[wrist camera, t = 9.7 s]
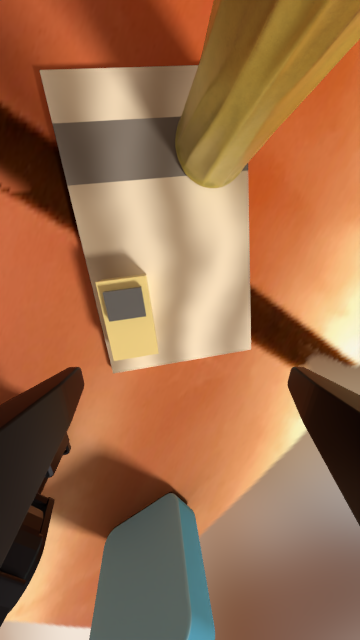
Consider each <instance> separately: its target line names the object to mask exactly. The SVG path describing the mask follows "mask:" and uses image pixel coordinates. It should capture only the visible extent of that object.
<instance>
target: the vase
mask: <svg viewBox="0 0 360 640" xmlns="http://www.w3.org/2000/svg"><path fill="white" fill-rule="evenodd" d="M359 39H360V0H214V2H213V6H212V11H211V15H210V19H209V24H208V28H207V33H206V38H205V42H204V47H203V51H202V55H201V59H200V62H199V65H198V68H197V71H196V74H195V77H194V80H193V83H192V86H191V89H190V92H189V95H188V98H187V100H186V103H185V106H184V110H183V113H182V116H181V119H180V121H179V123H178V126H177V131H176V138H175V148H176V153H177V157H178V160H179V162H180V164H181V167H182V169H183V170H184V172H185V174H186V175H187V176H188V177H189V178H190V179H191V180H192V181H193V182H195V183H196V184H198V185H200V186H202V187H206V188H220V187H223V186H225V185H227V184H229V183H231V182H232V181H233V180H234V179H235V178H236V177H237V176H238V175H239V174H240V173H241V171H242V170H243V168H244V167H245V165H246V164H247V163H248V162H249V161H250V160H251V159H252V157H253V156H254V155H255V154H256V153H257V152H258V151H259V150H260V149H261V147H262V146H263V145H264V144H265V143H266V141H267V140H268V139H269V138H270V136H271V135H272V134H273V133H274V132H275V131H276V130H277V128H278V127H279V126H280V125H281V124H282V123H283V122H284V121H285V120H286V119H287V118H288V117H289V116H290V114H291V113H292V112H293V111H294V110H295V109H296V108H297V107H298V106H299V105H300V104H301V102H302V101H303V100H304V99H305V98H306V97H307V96H308V95H309V94H310V93H311V92H312V91H313V89H314V88H315V87H316V86H317V85H318V84H319V83H320V82H321V81H322V80H323V79H324V77H325V76H326V75H327V74H328V73H329V72H330V71H331V70H332V69H333V67H334V66H335V65H336V64H337V63H338V62H339V61H340V60H341V59H342V58H343V56H344V55H345V54H346V53H347V52H348V51H349V50H350V49H351V48H352V47H353V46H354V45H355V43H356V42H357V41H358V40H359Z"/></svg>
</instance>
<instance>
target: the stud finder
mask: <svg viewBox="0 0 360 640" xmlns="http://www.w3.org/2000/svg"><path fill="white" fill-rule="evenodd" d="M95 283H96V287H97V292H98V296H99V300H100V304H101V308H102V313H103V317H104V321H105V325H106V330H107V334H108V338H109V342H110V346H111V351H112V355H113V359H114V361H118V360H124V359H130V358H136V357H142V356H147V355H153V354H159V352H158V342H157V336H156V330H155V324H154V317H153V311H152V305H151V299H150V293H149V287H148V281H147V274H142V275H134V276H126V277H119V278H111V279H103V280H100V281H97V282H95Z"/></svg>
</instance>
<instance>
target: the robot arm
mask: <svg viewBox="0 0 360 640" xmlns="http://www.w3.org/2000/svg"><path fill="white" fill-rule="evenodd" d="M288 388H289V391H290V393H291V395H292V398H293V400H294V402H295V405H296V407H297V410H298V412H299V414H300V417H301V419H302V421H303V423H304V425H305V427H306V429H307V430H308V432H309V434H310V436H311V438H312V439H313V441H314V443H315V445H316V447H317V449H318V451H319V452H320V454H321V456H322V458H323V460H324V462H325V463H326V465H327V467H328V469H329V471H330V473H331V474H332V476H333V478H334V480H335V482H336V484H337V485H338V487H339V489H340V491H341V493H342V494H343V496H344V498H345V500H346V502H347V504H348V506H349V507H350V509H351V511H352V513H353V515H354V517H355V518H356V520H357V522H358V524H359V526H360V395H358V394H356V393H354V392H352V391H350V390H348V389H346V388H344V387H342V386H340V385H338V384H336V383H334V382H332V381H330V380H328V379H326V378H324V377H322V376H320V375H318V374H316V373H314V372H312V371H310V370H308V369H306V368H304V367H293V368H292V369H291V372H290V375H289V379H288ZM83 389H84V380H83V375H82V371H81V368H79V367H69V368H67V369H65V370H63V371H62V372H60V373H58V374H56V375H54V376H52V377H51V378H49V379H47V380H45V381H43V382H41V383H40V384H38V385H36V386H34V387H32V388H31V389H29V390H27V391H25V392H23V393H21V394H20V395H18V396H16V397H14V398H12V399H10V400H9V401H7V402H5V403H3V404H1V405H0V627H1V625H2V623H3V621H4V619H5V618H6V616H7V614H8V613H9V612H10V611H11V610H12V608H13V607H14V606H15V605H16V603H17V602H18V600H19V599H20V597H21V596H22V594H23V593H24V591H25V589H26V588H27V586H28V584H29V582H30V581H31V579H32V577H33V575H34V573H35V570H36V568H37V566H38V564H39V561H40V559H41V556H42V553H43V550H44V546H45V541H46V537H47V532H48V528H49V523H50V519H51V514H52V509H53V505H54V499H52V498H50V497H48V498H47V497H45V496H43V495H41V492H42V490H43V488H44V486H45V484H46V482H47V480H48V478H49V477H52V476H53V475H54V473H55V471H56V469H57V467H58V464H59V462H60V460H61V458H62V456H63V455H66V454H68V453H69V452H70V449H71V446H70V444H69V438H68V435H67V430H68V428H69V426H70V424H71V421H72V419H73V416H74V413H75V411H76V408H77V405H78V402H79V400H80V397H81V394H82V391H83ZM65 449H66V450H65Z"/></svg>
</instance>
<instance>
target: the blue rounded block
mask: <svg viewBox="0 0 360 640" xmlns="http://www.w3.org/2000/svg"><path fill="white" fill-rule="evenodd" d="M89 640H215V628H214V622H213V616H212V611H211V605H210V599H209V593H208V588H207V582H206V577H205V570H204V565H203V559H202V553H201V547H200V542H199V536H198V530H197V524H196V519H195V514H194V512H193V510H192V509H191V508H189V507H188V506H187V505H186V504H185V503H184V502H183V501H182V500H181V499H180V498H178V497H177V496H176V495H175V494H173V493H169V494H166V495H165V496H163V497H162V498H160V499H159V500H157V501H156V502H154V503H153V504H151V505H149V506H148V507H146V508H145V509H143V510H142V511H140V512H139V513H137V514H136V515H134V516H133V517H131V518H129V519H128V520H126V521H125V522H123V523H122V524H120V525H119V526H117V527H116V528H114V529H113V530H112V532H111V533H110V534H109V536H108V538H107V540H106V543H105V546H104V551H103V558H102V564H101V570H100V576H99V582H98V589H97V595H96V601H95V607H94V614H93V620H92V626H91V632H90V638H89Z"/></svg>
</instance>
